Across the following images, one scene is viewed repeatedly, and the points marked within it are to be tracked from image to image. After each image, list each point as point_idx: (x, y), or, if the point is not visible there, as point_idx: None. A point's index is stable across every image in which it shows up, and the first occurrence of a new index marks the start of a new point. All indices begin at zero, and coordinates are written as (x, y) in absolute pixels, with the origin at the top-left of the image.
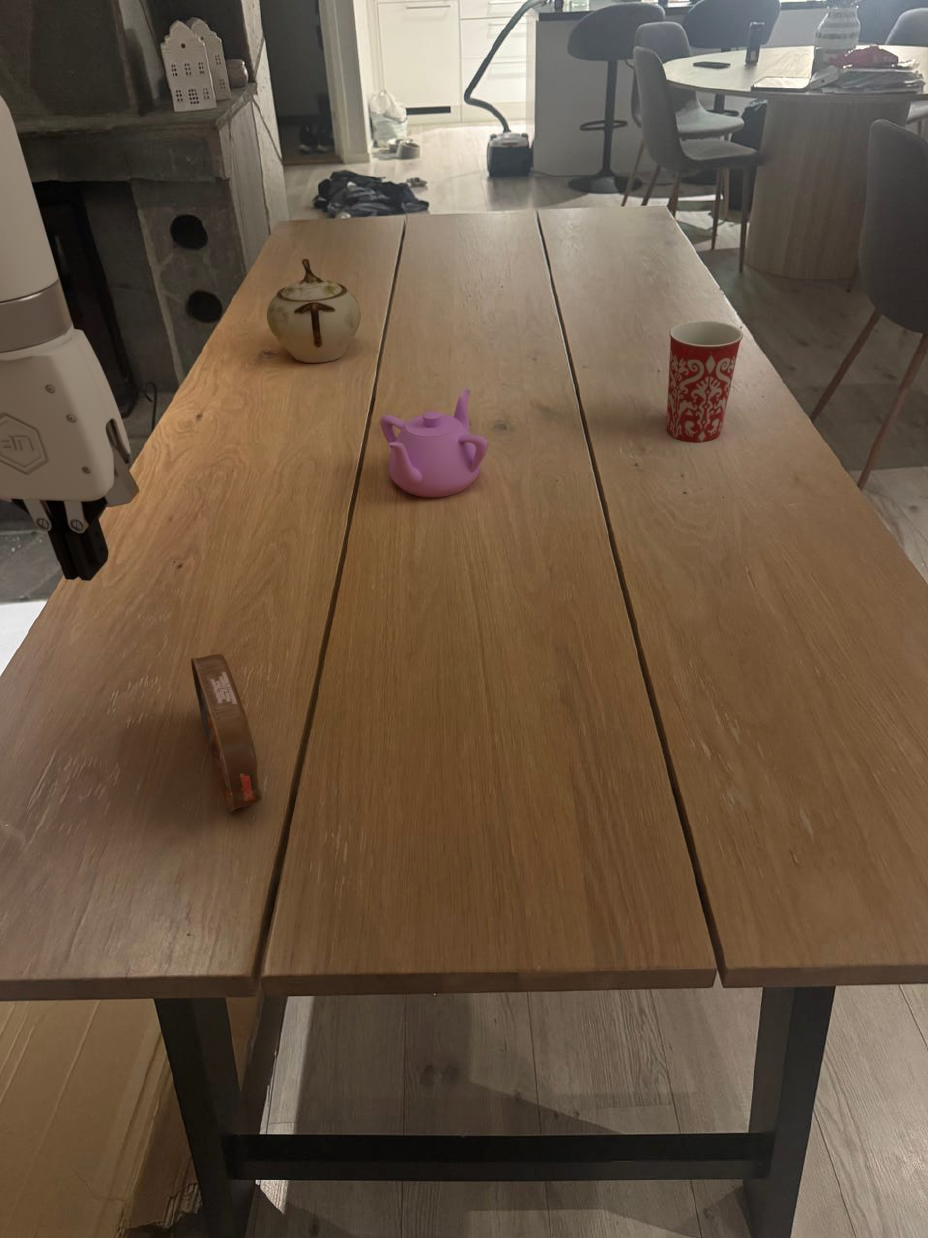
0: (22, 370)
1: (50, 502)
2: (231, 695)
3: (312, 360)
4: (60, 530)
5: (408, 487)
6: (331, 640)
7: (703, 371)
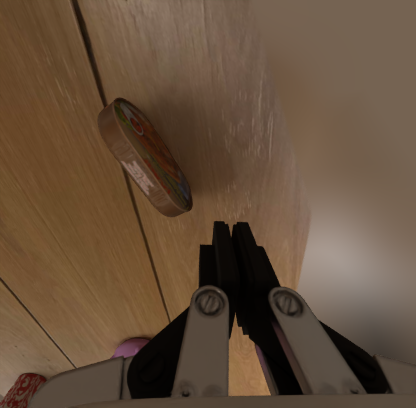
0: None
1: (285, 356)
2: (129, 170)
3: None
4: (253, 290)
5: (145, 343)
6: (145, 249)
7: None
